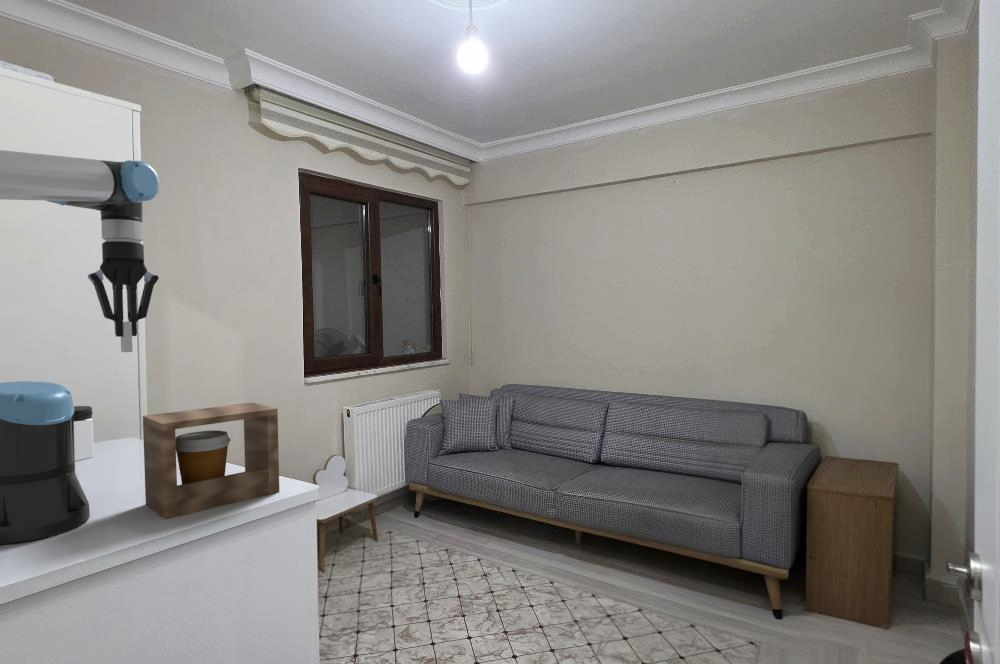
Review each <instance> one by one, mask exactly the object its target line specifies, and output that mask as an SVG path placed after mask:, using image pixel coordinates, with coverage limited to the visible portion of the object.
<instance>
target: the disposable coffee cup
mask: <svg viewBox="0 0 1000 664" xmlns="http://www.w3.org/2000/svg"><path fill="white" fill-rule="evenodd" d="M230 442H231V438H230V437H229V433H228V432H227V431H225V430H224V431H223V430H200V431H199V430H198V431H191V432H187V433H181V434H179V435H177V436H176V459H177V463H178V464H177V465H178V469H179V474H180V480H181V481H180V482H181V485H182V484H187V483H192V482H197V481H202V480H207V479H212V478H216V477H221V476H226V466H227V458H228V457H227V456H228V448H229V447H228V446H229V444H230Z"/></svg>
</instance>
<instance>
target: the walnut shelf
mask: <svg viewBox="0 0 1000 664" xmlns="http://www.w3.org/2000/svg"><path fill="white" fill-rule="evenodd" d="M278 413H279V412H278V408H277V407H273V406H268V405H264V404H261V403H258V402H257V403H256V402H245V403H239V404H238V403H237V404H230V405H229V404H228V405H221V406H215V407H214V406H213V407H206V408H205V407H204V408H197V409H196V408H195V409H190V410H189V409H188V410H181V411H180V410H179V411H173V412H172V411H171V412H164V413H155V414H148V415H143V416H142V434H143V459H144V460H143V461H144V463H143V464H144V487H145V489H144V490H145V491H144V493H145V505H146V506H147V507H148V508H150V509H151V510H153V511H154V512H155V513H156V514H157V515H159V516H160V517H162V518H163V519H164V520H166V519H171V518H176V517H179V516H183V515H188V514H192V513H197V512H201V511H204V510H209V509H213V508H217V507H221V506H226V505H230V504H233V503H237V502H241V501H242V500H243V501H246V499H247V500H251V499H255V498H259V497H258V496H260V497H263V496H262V495H264V496H267V495H266V494H268V495H271V493H272V494H276V493H279V492H280V464H279V462H280V459H279V423H278V422H279V420H278V419H279V417H278V415H279V414H278ZM237 421H243V438H244V440H243V441H244V443H243V444H244V471H240V472H237V473H231V474H227V475H226V474H225V476H221V477H216V478H212V479H207V480H202V481H197V482H192V483H187V484H182V483H181V484H179V485H178V475H177V474H178V473H177V468H178V467H177V452H176V437H177V436H176V430H177V429H179V430H180V429H185V428H192V427H193V428H194V427H200V426H207V425H215V424H222V423H229V422H237ZM278 491H279V492H278ZM275 492H276V493H275ZM254 497H255V498H254ZM250 498H251V499H250ZM243 501H242V502H243Z"/></svg>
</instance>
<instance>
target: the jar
mask: <svg viewBox="0 0 1000 664" xmlns="http://www.w3.org/2000/svg"><path fill="white" fill-rule="evenodd" d="M73 407H74V450H75V463H77V462H78V461H84V460H88V459H93V458H94V456H95V455H94V454H95V453H94V452H95V451H94V439H95V438H94V428H93V427H94V426H93V425H94V424H93V423H94V422H93V408H92V406H89V405H76V406H75V405H73Z"/></svg>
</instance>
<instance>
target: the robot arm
mask: <svg viewBox="0 0 1000 664" xmlns="http://www.w3.org/2000/svg"><path fill="white" fill-rule="evenodd" d="M159 191H160V180H159V175H158V173H157V172H156V170H155V169H154V167H153V166H151V165H150V164H149V163H147V162H145V161H142V160H131V159H130V160H126V161H113V160H98V159H93V158H92V159H91V158H81V157H72V156H62V155H51V154H43V153H42V154H41V153H33V152H32V153H31V152H22V151H14V150H3V149H2V150H1V149H0V200H6V201H7V200H9V201H10V200H12V201H13V200H17V201H46V202H48V203H53V204H58V205H60V206H69V207H74V208H75V207H76V208H82V209H88V210H93V211H100V221H101V239H102V240H104V241H102V243H101V253H102V254H101V255H102V257H101V258H102V262H101V264H100V266H99V269H98V270H97V271H95V272H93V273H92V272H91V273H89V274H88V275H87V278H88V280H89V281H90V282H91V284H92V285H93V286H94V290H95V292H96V296H97V299H98V302H99V304H100V308H101V312H102V314H103V316H104V317H103V318H104V319H107V320H110V321H113V322H114V334H115V337H118V338H119V337H120V352H121V353H133V337H137V335H138V321H139V320H142V319H146V317H147V315H148V312H149V306H150V303H151V298H152V294H153V290H154V286H155V284H156V283H157V282H158V280H159V279H160V278H159V275H156V274H153V273H151V272H149V271H148V268H147V266H146V264H145V253H144V252H145V249H144V248H145V247H144V244H143V243H141V242H143V241H144V221H143V202H148V201H150V200H153V199H154V198H156V196H157V195H158V193H159ZM104 277H105V278H106V279H107V280H108V281H109V283H111V284H112V285H111V287H112V295H113V296H112V299H113V305H112V306H113V310H112V307H111V304H110V300H109V297H108V293H107V290H106V288H105V285H104V283H103V280H104ZM142 278H144V279H143V281H144V282H145V284H144V285H143V289H142V294H141V298H140V302H139V305H138V303H137V301H138V300H137V299H138V298H137V289H138V283H139V282H140V281H141V280H142ZM124 285H125V289H126V302H127V303H126V306H127V320H128V321H124V296H123V294H124V293H123V292H124ZM73 403H74V402H73V395H72V392H71V390H70V389H69V388H67V387H66V386H64V385H62V384H58V383H53V382H47V381H30V380H29V381H28V380H26V381H25V380H23V381H21V380H20V381H17V380H16V381H6V382H0V545H6V544H7V545H9V544H16V543H17V544H18V543H23V542H28V541H34V540H39V539H43V538H47V537H52V536H55V535H58V534H61V533H64V532H68V531H70V530H73V529H75V528H77V527H79V526H81V525H83V524H85V523H86V522H87V521H88V520H89V518H90V515H91V514H90V503H89V500H88V499H87V496H86V494H85V492H84V490H83V487H82V485H81V484H80V481H79V478H78V475H77V474H76V462H75V450H74V407H73V406H74V404H73Z"/></svg>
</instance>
